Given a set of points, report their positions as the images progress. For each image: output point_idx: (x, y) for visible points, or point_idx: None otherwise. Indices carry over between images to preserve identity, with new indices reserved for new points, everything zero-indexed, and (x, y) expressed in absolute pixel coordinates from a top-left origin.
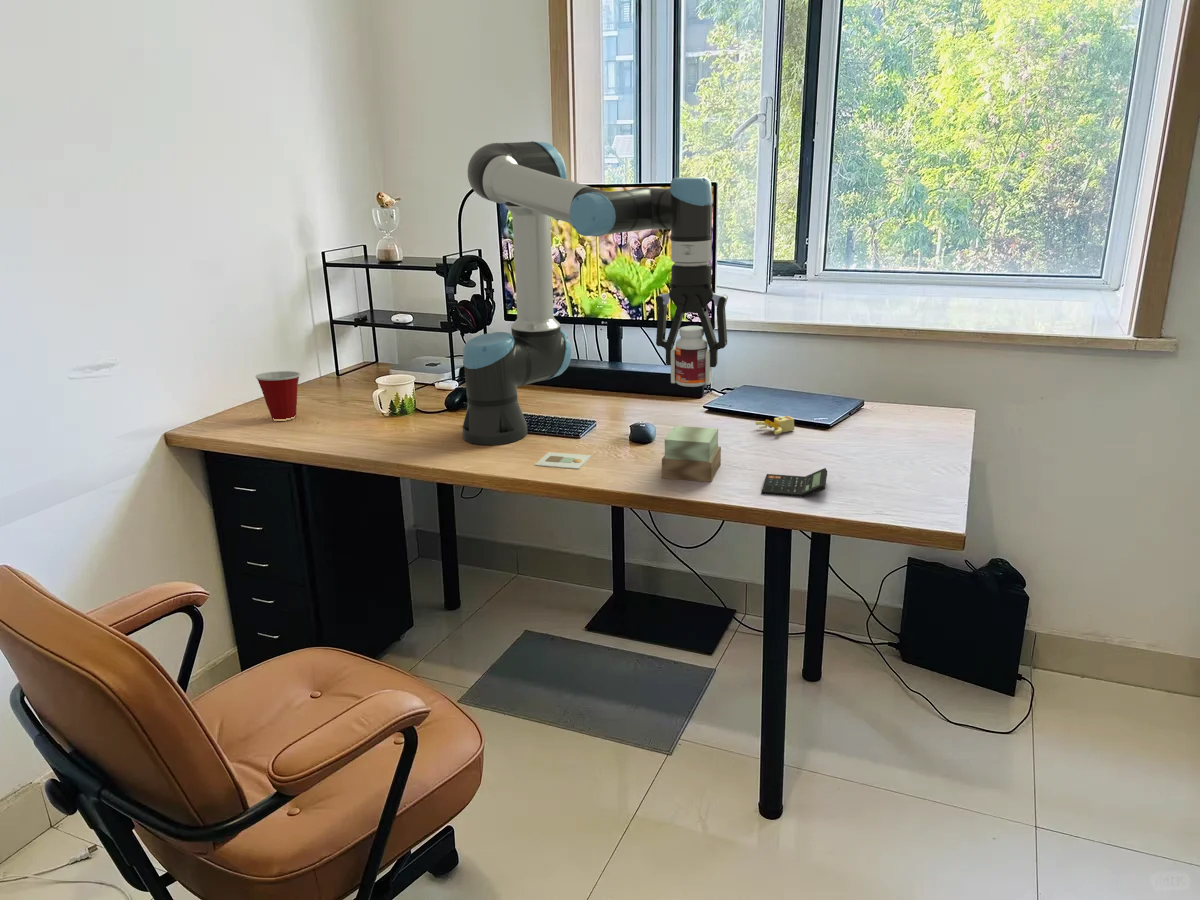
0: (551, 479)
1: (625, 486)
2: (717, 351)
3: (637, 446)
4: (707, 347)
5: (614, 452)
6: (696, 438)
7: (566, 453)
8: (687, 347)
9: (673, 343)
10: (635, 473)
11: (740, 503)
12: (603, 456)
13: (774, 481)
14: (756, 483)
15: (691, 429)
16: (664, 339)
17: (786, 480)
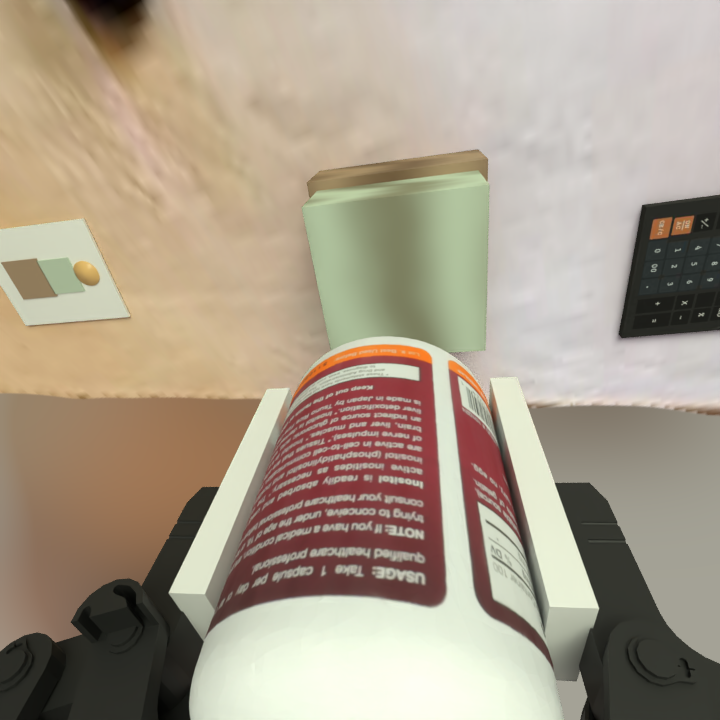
0: (127, 383)
1: (289, 376)
2: (658, 611)
3: (132, 58)
4: (551, 663)
5: (112, 157)
6: (431, 324)
7: (14, 227)
8: None
9: (157, 664)
10: (267, 300)
11: (566, 393)
12: (111, 205)
13: (667, 261)
14: (606, 270)
15: (381, 232)
16: (47, 715)
17: (708, 243)
